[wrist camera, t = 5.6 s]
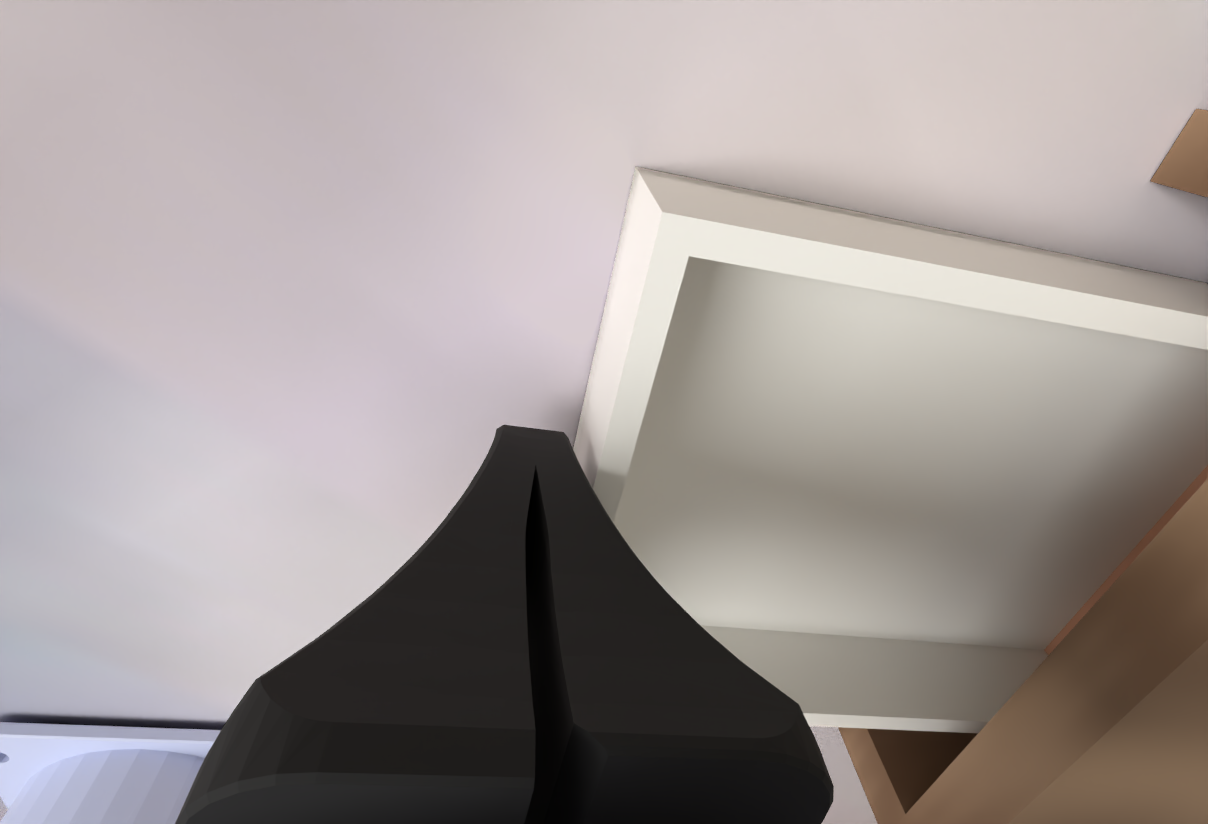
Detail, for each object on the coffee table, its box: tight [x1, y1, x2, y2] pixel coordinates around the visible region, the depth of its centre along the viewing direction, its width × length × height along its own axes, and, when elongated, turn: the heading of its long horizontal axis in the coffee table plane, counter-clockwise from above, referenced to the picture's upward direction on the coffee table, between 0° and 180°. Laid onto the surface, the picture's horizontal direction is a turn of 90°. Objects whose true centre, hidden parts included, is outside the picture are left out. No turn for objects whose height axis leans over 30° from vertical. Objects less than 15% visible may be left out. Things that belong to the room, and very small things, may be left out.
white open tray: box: [573, 166, 1208, 733], centre depth 13 cm, size 11×15×3 cm
